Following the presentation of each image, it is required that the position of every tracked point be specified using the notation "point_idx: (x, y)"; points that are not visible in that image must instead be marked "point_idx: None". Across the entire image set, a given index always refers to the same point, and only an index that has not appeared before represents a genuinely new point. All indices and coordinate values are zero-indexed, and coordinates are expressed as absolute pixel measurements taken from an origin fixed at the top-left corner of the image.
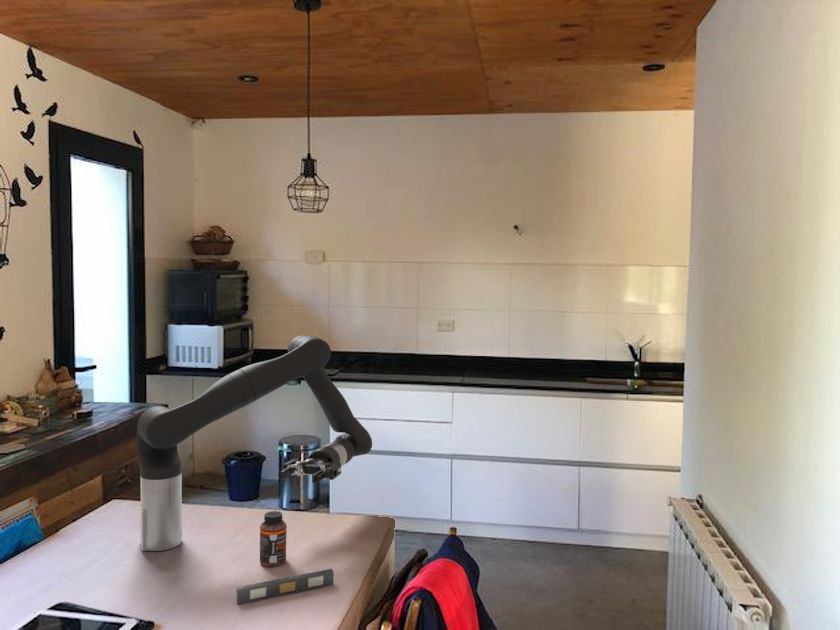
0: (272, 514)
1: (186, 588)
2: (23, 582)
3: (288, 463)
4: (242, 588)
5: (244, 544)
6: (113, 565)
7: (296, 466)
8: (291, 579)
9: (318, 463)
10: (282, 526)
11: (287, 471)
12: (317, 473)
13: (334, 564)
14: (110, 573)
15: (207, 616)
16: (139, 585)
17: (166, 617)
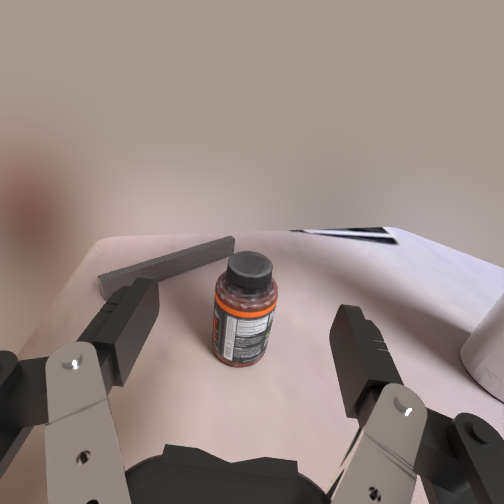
0: (250, 260)
1: (311, 269)
2: (476, 263)
3: (484, 473)
4: (226, 237)
5: None
6: (456, 300)
7: (360, 433)
8: (168, 254)
9: (130, 501)
10: (220, 276)
11: (348, 342)
12: (126, 292)
13: None
14: (430, 284)
15: (248, 237)
16: (368, 269)
17: (284, 234)
